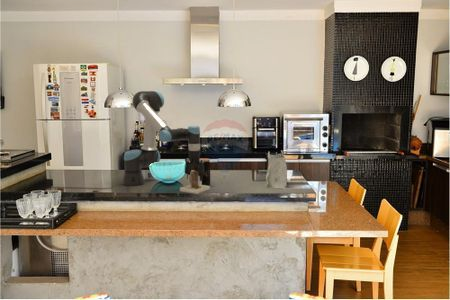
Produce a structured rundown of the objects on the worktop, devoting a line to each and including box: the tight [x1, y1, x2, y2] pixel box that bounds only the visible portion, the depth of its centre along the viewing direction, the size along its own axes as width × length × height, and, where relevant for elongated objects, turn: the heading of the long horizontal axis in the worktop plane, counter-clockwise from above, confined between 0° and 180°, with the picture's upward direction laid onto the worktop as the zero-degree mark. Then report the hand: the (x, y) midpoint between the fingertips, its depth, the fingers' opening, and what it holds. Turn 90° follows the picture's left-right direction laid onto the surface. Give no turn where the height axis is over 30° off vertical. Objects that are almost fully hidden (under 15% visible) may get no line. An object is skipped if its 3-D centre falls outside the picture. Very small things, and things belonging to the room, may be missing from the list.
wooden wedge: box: [191, 170, 199, 189], centre depth 285 cm, size 3×5×12 cm, turn 148°
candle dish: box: [179, 184, 211, 195], centre depth 286 cm, size 14×14×3 cm
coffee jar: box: [194, 157, 211, 186], centre depth 301 cm, size 11×11×18 cm
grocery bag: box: [265, 150, 288, 189], centre depth 307 cm, size 32×14×23 cm, turn 176°
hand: (194, 185), depth 286 cm, fingers open, 7 cm apart
